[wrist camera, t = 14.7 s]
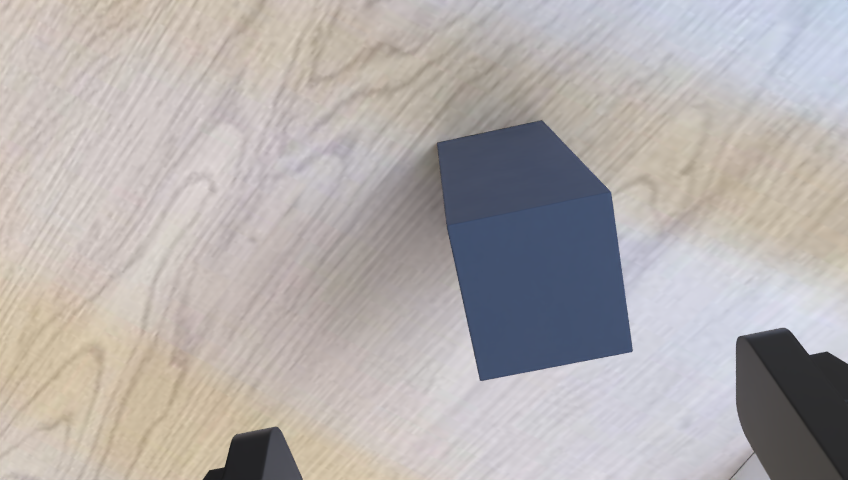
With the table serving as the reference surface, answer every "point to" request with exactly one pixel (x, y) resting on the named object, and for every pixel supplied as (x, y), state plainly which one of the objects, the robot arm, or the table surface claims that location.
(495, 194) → the rectangular box
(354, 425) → the table surface
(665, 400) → the table surface
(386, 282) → the table surface
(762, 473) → the block
